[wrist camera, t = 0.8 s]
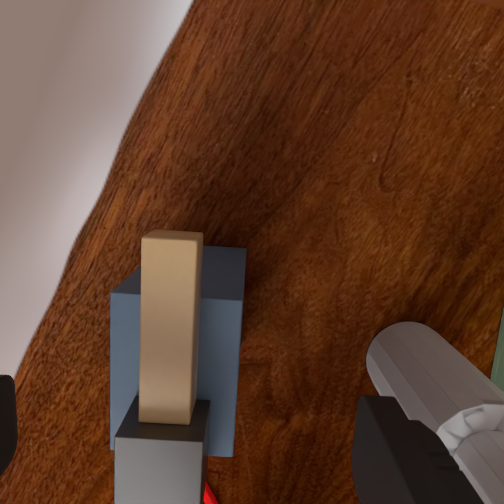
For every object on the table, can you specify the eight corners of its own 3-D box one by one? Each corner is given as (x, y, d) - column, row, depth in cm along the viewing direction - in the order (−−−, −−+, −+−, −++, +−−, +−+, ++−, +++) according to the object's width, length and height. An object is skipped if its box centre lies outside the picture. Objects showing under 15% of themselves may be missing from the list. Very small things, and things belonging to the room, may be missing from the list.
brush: (137, 228, 19) (115, 239, 16) (219, 233, 19) (213, 246, 16) (134, 470, 21) (113, 522, 18) (207, 474, 21) (199, 527, 18)
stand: (166, 242, 32) (110, 292, 20) (246, 248, 32) (242, 300, 20) (163, 343, 34) (109, 450, 21) (240, 348, 34) (232, 457, 21)
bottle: (370, 318, 33) (475, 452, 18) (450, 323, 34) (625, 461, 18) (361, 392, 35) (452, 579, 19) (438, 397, 35) (593, 587, 19)
